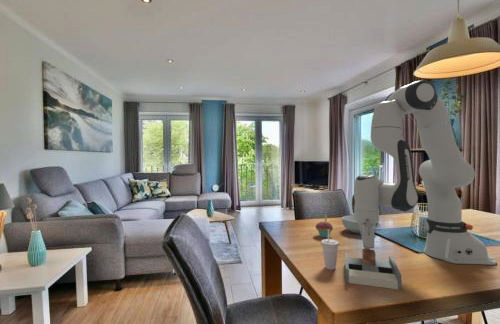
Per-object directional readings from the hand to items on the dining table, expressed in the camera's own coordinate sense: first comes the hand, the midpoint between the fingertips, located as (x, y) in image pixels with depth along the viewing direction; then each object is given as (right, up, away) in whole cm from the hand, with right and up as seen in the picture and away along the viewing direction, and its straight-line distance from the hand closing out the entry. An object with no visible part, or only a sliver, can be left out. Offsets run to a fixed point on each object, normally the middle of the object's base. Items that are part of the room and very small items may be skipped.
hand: (366, 252), depth 102 cm
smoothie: (-15, -4, -4) cm, 17 cm away
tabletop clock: (+27, -2, +61) cm, 66 cm away
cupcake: (-7, -3, +33) cm, 34 cm away
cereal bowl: (+13, -3, +40) cm, 42 cm away
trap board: (-4, -4, -11) cm, 13 cm away
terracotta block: (-2, -1, -7) cm, 7 cm away
